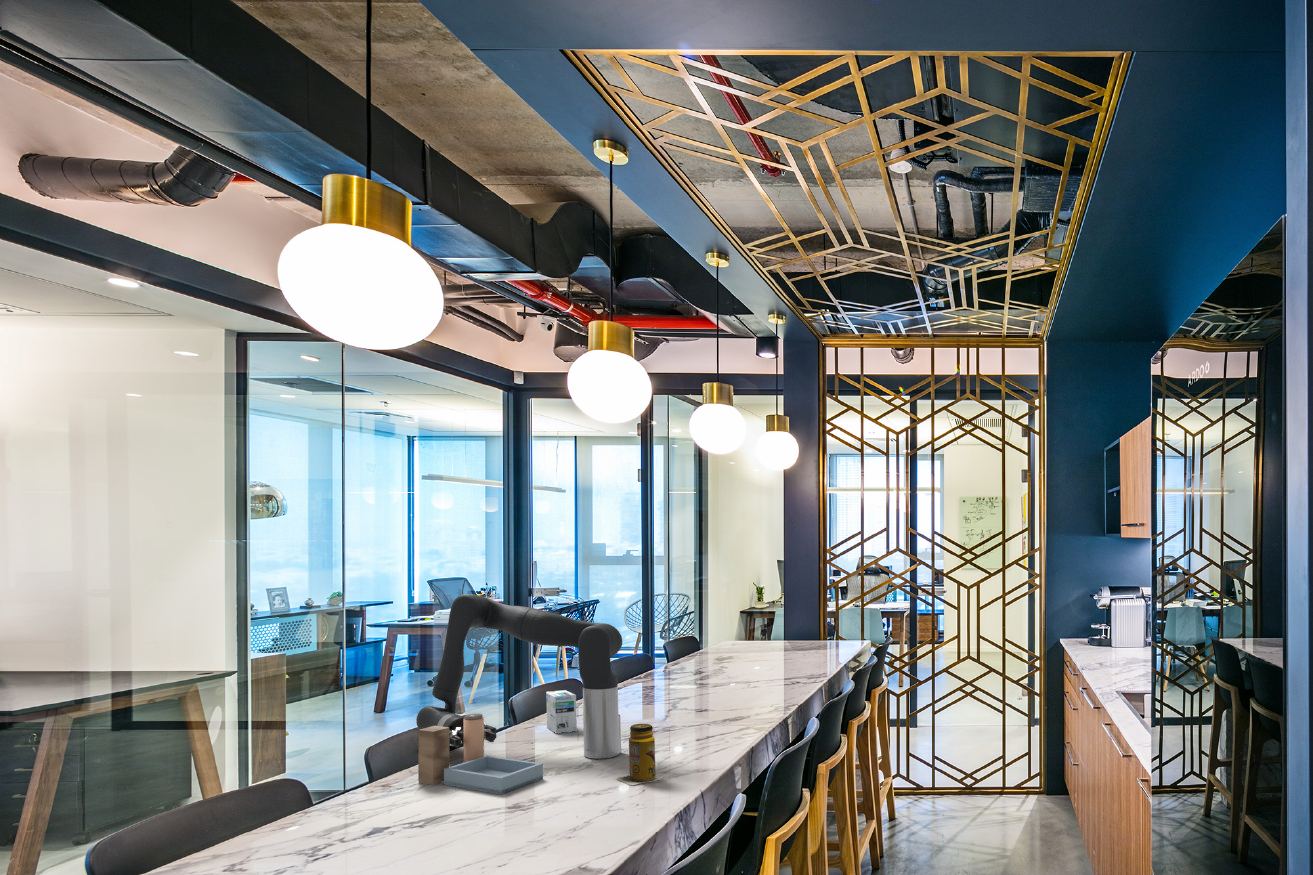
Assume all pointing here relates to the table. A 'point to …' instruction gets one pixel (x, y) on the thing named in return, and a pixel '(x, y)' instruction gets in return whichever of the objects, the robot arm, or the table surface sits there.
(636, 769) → the condiment
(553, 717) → the light bulb box
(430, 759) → the walnut block
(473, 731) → the terracotta jar
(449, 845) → the table surface
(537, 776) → the tote
